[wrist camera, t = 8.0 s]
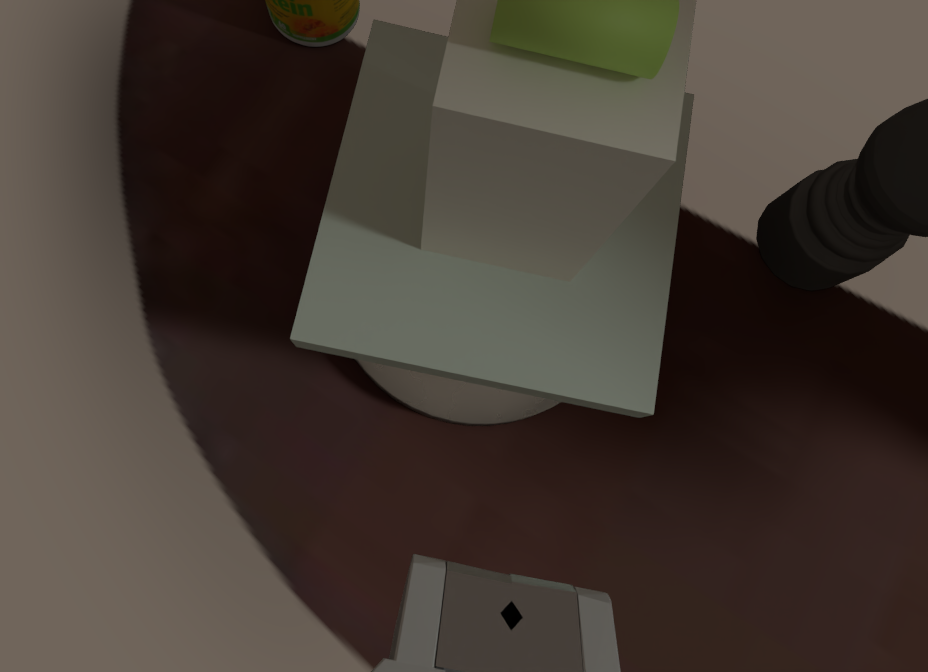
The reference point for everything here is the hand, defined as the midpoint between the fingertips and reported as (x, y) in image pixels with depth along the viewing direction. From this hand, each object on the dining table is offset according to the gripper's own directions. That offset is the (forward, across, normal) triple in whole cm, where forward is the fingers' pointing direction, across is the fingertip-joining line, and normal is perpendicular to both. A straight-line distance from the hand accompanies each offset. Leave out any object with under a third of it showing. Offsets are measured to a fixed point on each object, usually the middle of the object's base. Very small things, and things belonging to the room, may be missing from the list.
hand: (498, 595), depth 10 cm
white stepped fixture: (+19, 0, +2) cm, 20 cm away
